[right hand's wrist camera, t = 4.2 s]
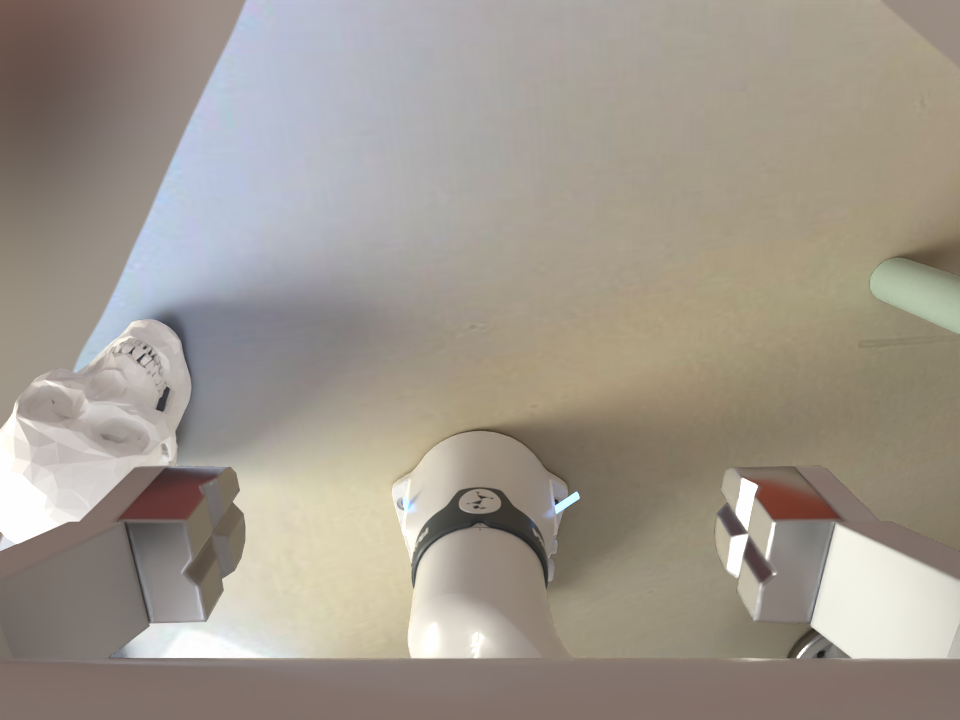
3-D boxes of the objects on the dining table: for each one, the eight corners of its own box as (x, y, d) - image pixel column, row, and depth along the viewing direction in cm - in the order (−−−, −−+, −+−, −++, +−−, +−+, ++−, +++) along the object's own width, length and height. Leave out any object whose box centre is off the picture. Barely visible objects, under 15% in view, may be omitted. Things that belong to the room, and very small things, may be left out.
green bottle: (884, 251, 57) (1014, 291, 43) (924, 265, 57) (1066, 309, 44) (860, 293, 58) (979, 345, 44) (899, 306, 59) (1028, 362, 45)
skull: (229, 339, 60) (139, 406, 45) (173, 512, 67) (80, 620, 52) (95, 283, 58) (-45, 334, 43) (52, 467, 65) (-80, 564, 50)
